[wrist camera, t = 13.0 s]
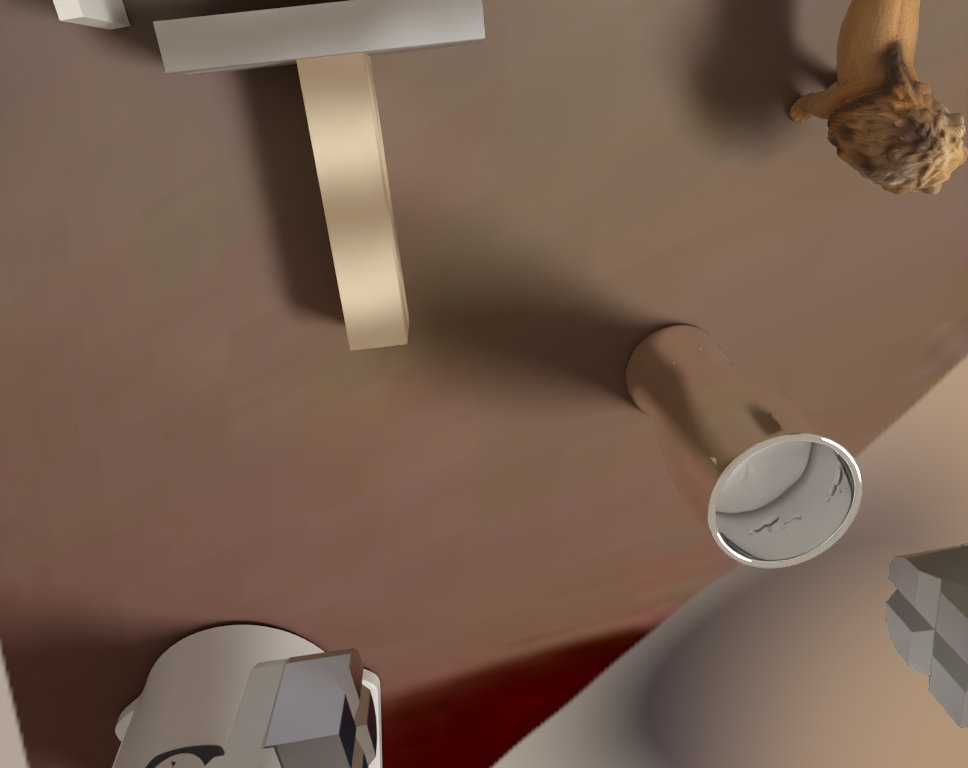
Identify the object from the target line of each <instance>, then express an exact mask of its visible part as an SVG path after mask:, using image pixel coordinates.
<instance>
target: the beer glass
mask: <svg viewBox="0 0 968 768" xmlns="http://www.w3.org/2000/svg"><path fill="white" fill-rule="evenodd" d="M626 386H627V390H628V393H629V395H630V397H631V399H632V400H633V402H634V403H635V404H636V405H637V406H638V407H639V408H640V409H641V410H642V411H643V412H644V413H646V414H647V415H648V416H650V417H651V418H652V419H653V420H654V423H655V426H656V431H657V435H658V439H659V443H660V447H661V451H662V454H663V457H664V460H665V463H666V465H667V468H668V471H669V473H670V475H671V477H672V479H673V481H674V483H675V485H676V487H677V489H678V490H679V492H680V494H681V495H682V497H683V498H684V500H685V501H686V503H687V504H688V506H689V507H690V509H691V510H692V512H693V513H694V514H695V515H696V517H697V518H698V519H699V521H700V522H701V523H702V525H703V526H704V527H705V528H706V529H707V531H708V532H709V533H710V534H711V536H712V537H713V539H714V540H715V542H716V544H717V545H718V546H719V547H720V549H721V550H722V551H723V552H725V553H726V554H727V555H728V556H730V557H731V558H733V559H734V560H736V561H738V562H740V563H743V564H745V565H749V566H753V567H758V568H781V567H788V566H792V565H796V564H799V563H802V562H804V561H807V560H809V559H811V558H813V557H815V556H817V555H819V554H821V553H822V552H824V551H825V550H827V549H828V548H829V547H830V546H832V545H833V544H834V543H835V542H836V541H837V540H839V539H840V537H841V536H842V535H843V534H844V533H845V532H846V531H847V529H848V528H849V526H850V525H851V523H852V522H853V520H854V518H855V516H856V514H857V512H858V509H859V506H860V503H861V499H862V490H863V486H862V485H863V483H862V476H861V472H860V469H859V467H858V465H857V463H856V461H855V459H854V458H853V456H852V455H851V454H850V453H849V451H848V450H847V449H845V448H844V447H843V446H842V445H841V444H840V443H839V442H838V441H837V440H836V439H835V437H834V436H833V435H832V434H831V433H830V432H829V431H828V429H827V428H826V427H825V426H824V425H823V424H822V423H821V422H820V421H819V420H818V419H817V418H816V417H815V416H814V415H813V414H812V413H811V412H810V411H809V410H808V409H807V408H806V407H805V406H804V405H803V404H802V403H800V402H799V401H798V400H797V399H795V398H794V397H793V396H792V395H790V394H789V393H788V392H786V391H785V390H784V389H782V388H781V387H779V386H777V385H775V384H774V383H772V382H770V381H768V380H767V379H765V378H763V377H761V376H759V375H757V374H755V373H752V372H750V371H748V370H746V369H743V368H741V367H739V366H736V365H734V364H732V363H730V362H729V361H728V360H727V358H726V356H725V354H724V352H723V350H722V348H721V347H720V345H719V344H718V342H717V341H716V340H715V339H714V338H713V337H712V336H711V335H710V334H709V333H707V332H706V331H704V330H702V329H700V328H697V327H693V326H689V325H673V326H668V327H665V328H662V329H659V330H657V331H655V332H653V333H652V334H650V335H649V336H647V337H646V338H645V339H643V340H642V341H641V342H640V344H639V345H638V346H637V347H636V348H635V350H634V351H633V353H632V355H631V357H630V359H629V361H628V364H627V368H626Z"/></svg>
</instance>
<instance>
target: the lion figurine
mask: <svg viewBox="0 0 968 768" xmlns="http://www.w3.org/2000/svg"><path fill="white" fill-rule="evenodd" d="M919 6H920V0H852V2H851V4H850V6H849V8H848V11H847V13H846V15H845V18H844V20H843V23H842V25H841V29H840V34H839V38H838V45H837V75H838V80H837V81H836V82H834V83H833V84H832V85H831V86H830V87H828V88H827V89H826V90H824V91H822V92H816V93H814V92H812V93H809V94H807V95H805V96H803V97H801V98H800V99H798V100H797V101H796V102H795V103H794V104H793V106H792V107H791V109H790V117H791V118H792V119H793V121H795V122H797V123H804V122H807V121H810V120H811V118H812V114H813V115H814V116H817V117H819V118H823V119H829V120H828V127H829V131H828V140H829V141H830V143H831V144H832V145H834V146H836V147H837V155H838V157H839V158H840V159H842V160H844V161H845V162H847V163H848V164H849V165H850V166H851V167H852V168H854V169H855V170H858V172H859V173H860V174H861V175H862V176H863V177H864V178H868V179H871V180H872V181H873V182H874V183H877V184H880V185H882V187H883V189H884V190H887V191H890V192H892V193H894V194H902V193H905V192H908V193H914V192H917V191H920V192H924V193H928V194H936V193H938V192H939V191H940V188H941V184H942V182H944V181H947V180H948V179H949V178H950V174H951V172H952V171H953V170H955V169H956V168H957V167H958V166H959V165H961V164H963V162H964V161H965V160H966V158H967V156H968V149H967V147H966V146H963V141H962V139H961V137H962V136H963V135H964V133H965V126H964V119H963V115H962V114H960V113H954V114H951V113H949V112H948V110H947V109H946V107H944V106H943V104H942V103H940V102H938V101H936V100H934V98H933V95H932V94H931V90H930V86H928V85H927V84H924V83H922V82H919V79H918V76H917V74H916V72H915V70H914V66H913V59H914V52H915V47H916V41H917V34H918V26H919Z"/></svg>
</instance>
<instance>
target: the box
mask: <svg viewBox="0 0 968 768" xmlns="http://www.w3.org/2000/svg"><path fill="white" fill-rule="evenodd" d="M53 2H54V5H55V8H56V11H57V14H58V17H59V19H60V21H64V22H70V23H76V24H81V25H87V26H93V27H98V28H104V29H110V30H111V29H116V28H122V27H128V26H130V23H129V20H128V17H127V14H126V11H125V7H124V4H123V1H122V0H53Z"/></svg>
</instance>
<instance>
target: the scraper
mask: <svg viewBox="0 0 968 768" xmlns="http://www.w3.org/2000/svg"><path fill="white" fill-rule="evenodd" d="M153 24H154V28H155V32H156V36H157V40H158V44H159V48H160V52H161V56H162V60H163V64H164V68H165V72H166V73H178V74H197V75H202V74H211V73H220V72H229V71H239V70H248V69H257V68H266V67H275V66H284V65H294V64H297V67H298V73H299V78H300V83H301V89H302V94H303V99H304V105H305V110H306V116H307V121H308V126H309V132H310V137H311V142H312V148H313V153H314V158H315V164H316V169H317V175H318V180H319V185H320V191H321V196H322V201H323V207H324V212H325V217H326V223H327V228H328V234H329V239H330V244H331V250H332V255H333V260H334V266H335V271H336V276H337V282H338V287H339V292H340V298H341V303H342V309H343V314H344V319H345V325H346V330H347V335H348V341H349V346H350V351H352V350H361V349H369V348H378V347H386V346H395V345H403V344H407V340H408V331H409V322H410V321H409V315H408V308H407V301H406V294H405V288H404V281H403V274H402V268H401V261H400V254H399V248H398V241H397V234H396V227H395V221H394V214H393V207H392V201H391V194H390V187H389V181H388V174H387V167H386V160H385V154H384V147H383V140H382V134H381V127H380V120H379V114H378V107H377V100H376V93H375V87H374V80H373V73H372V67H371V60H370V56H376V55H385V54H394V53H403V52H413V51H422V50H431V49H440V48H449V47H458V46H468V45H477V44H480V43H481V42H482V41H483V40H484V39H485V29H484V18H483V7H482V0H349V1H340V2H331V3H321V4H312V5H303V6H293V7H284V8H275V9H266V10H256V11H247V12H238V13H228V14H219V15H210V16H201V17H191V18H182V19H173V20H163V21H154V22H153Z"/></svg>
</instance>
